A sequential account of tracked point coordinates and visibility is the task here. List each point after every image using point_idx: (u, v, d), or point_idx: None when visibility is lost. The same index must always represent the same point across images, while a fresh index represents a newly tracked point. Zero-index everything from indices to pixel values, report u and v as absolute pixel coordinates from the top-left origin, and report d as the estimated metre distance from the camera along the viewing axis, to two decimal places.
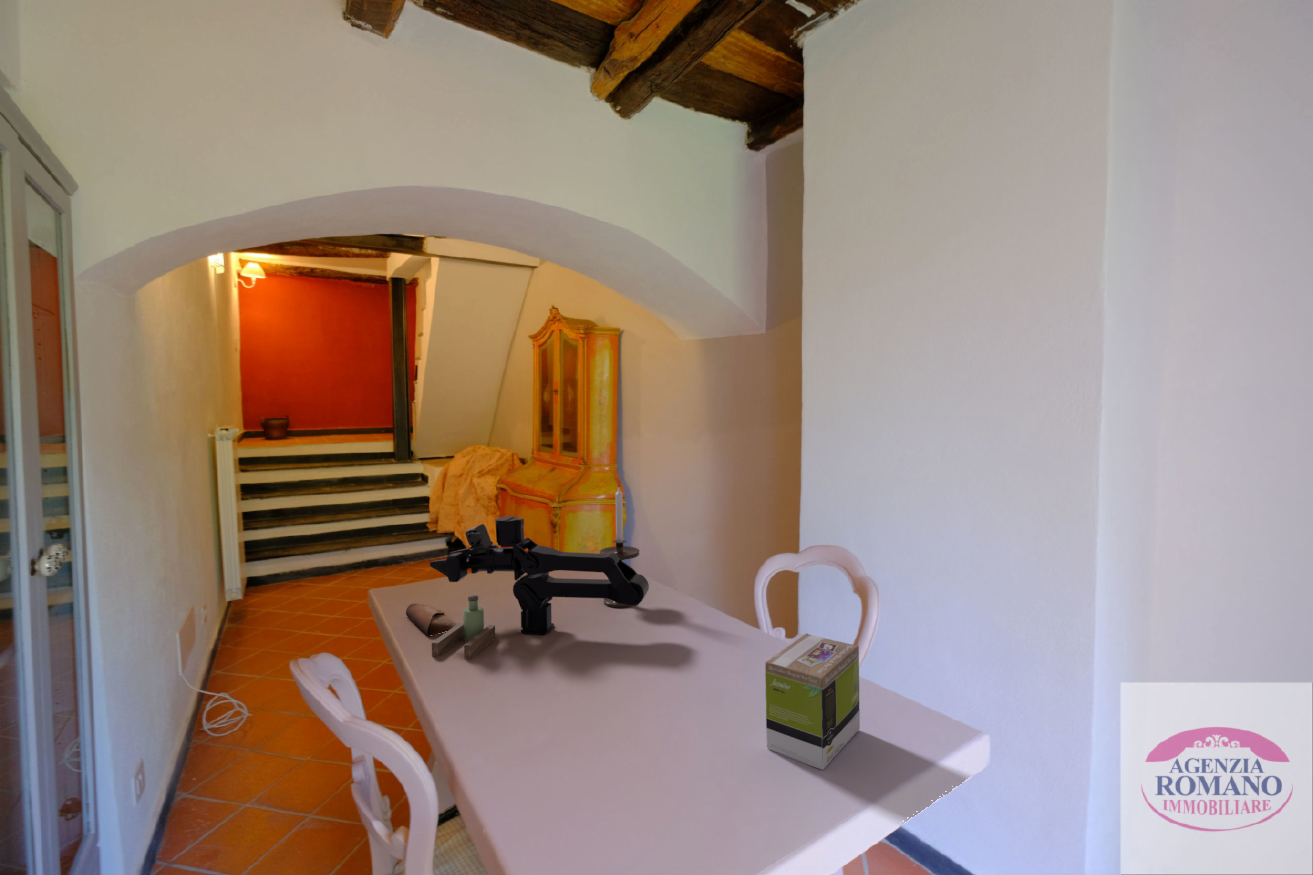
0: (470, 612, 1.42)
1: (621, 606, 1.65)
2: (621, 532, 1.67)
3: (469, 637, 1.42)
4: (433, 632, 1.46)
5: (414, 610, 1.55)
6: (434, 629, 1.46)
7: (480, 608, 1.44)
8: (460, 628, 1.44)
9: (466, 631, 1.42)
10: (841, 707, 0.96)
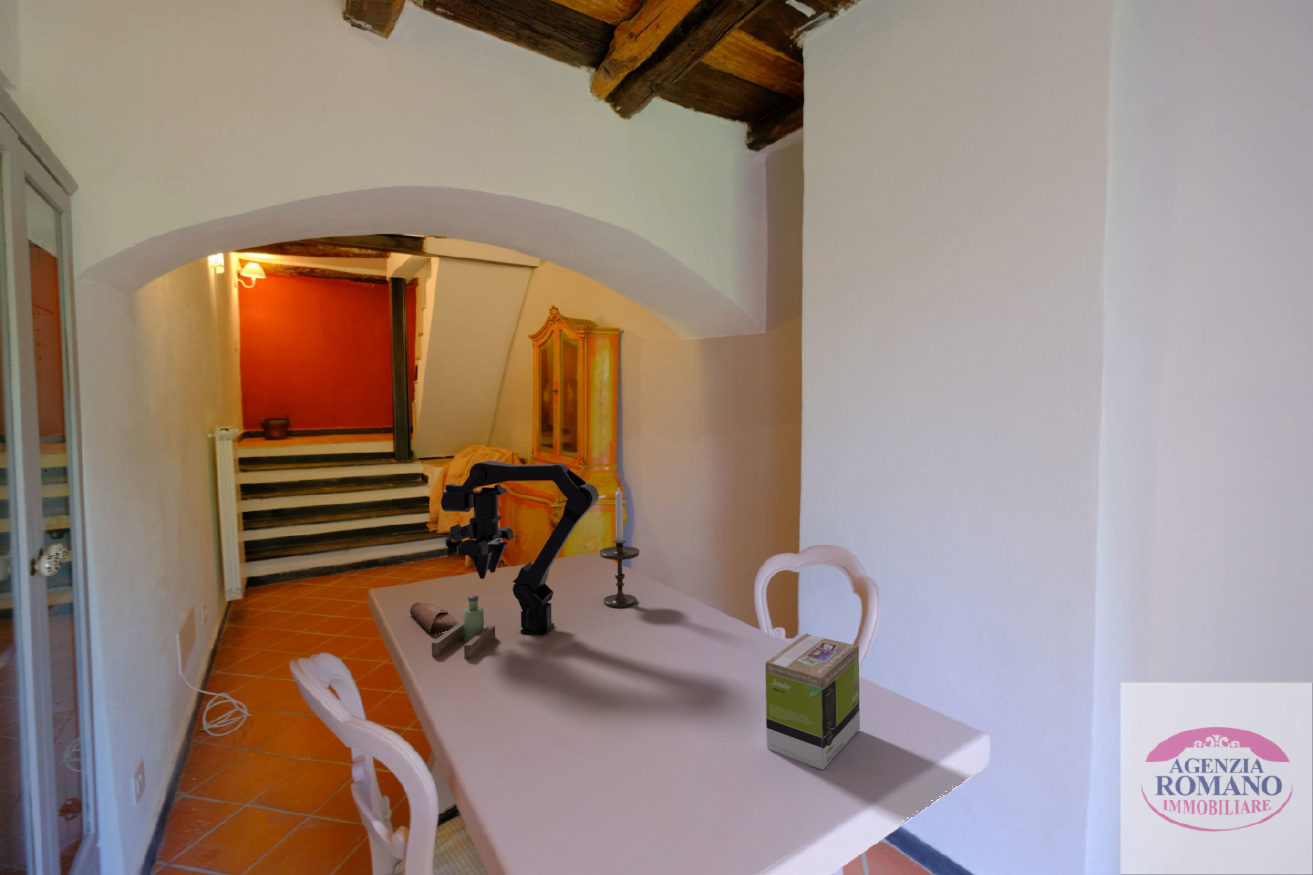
0: (470, 612, 1.42)
1: (621, 606, 1.65)
2: (621, 532, 1.67)
3: (469, 637, 1.42)
4: (436, 632, 1.47)
5: (418, 609, 1.56)
6: (437, 629, 1.47)
7: (480, 608, 1.44)
8: (460, 628, 1.44)
9: (466, 631, 1.42)
10: (841, 707, 0.96)
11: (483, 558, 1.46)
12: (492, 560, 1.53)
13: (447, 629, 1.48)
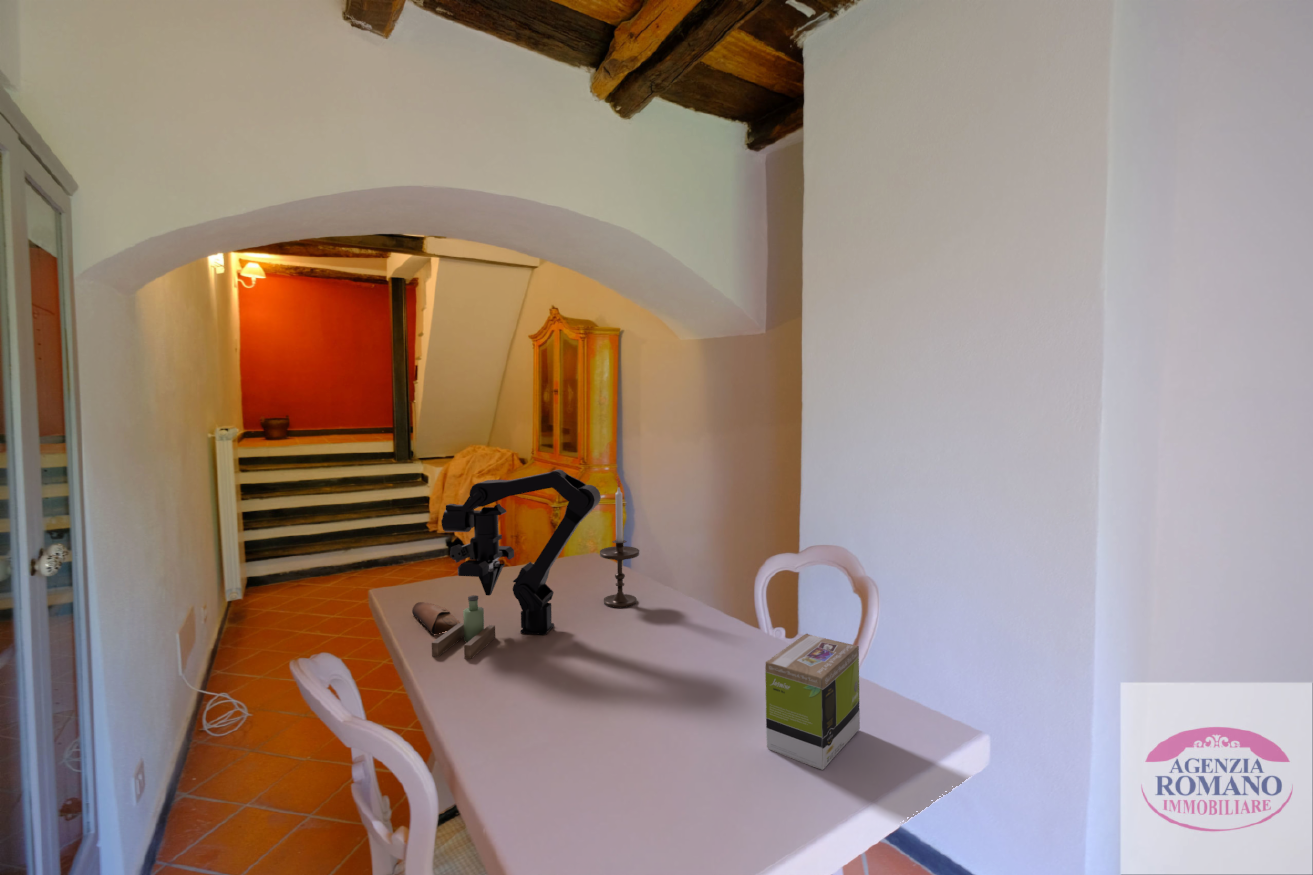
0: (470, 612, 1.42)
1: (621, 606, 1.65)
2: (621, 532, 1.67)
3: (469, 637, 1.42)
4: (438, 631, 1.47)
5: (420, 608, 1.56)
6: (438, 628, 1.47)
7: (480, 608, 1.44)
8: (460, 628, 1.44)
9: (466, 631, 1.42)
10: (841, 707, 0.96)
11: (489, 575, 1.48)
12: None
13: (448, 629, 1.49)
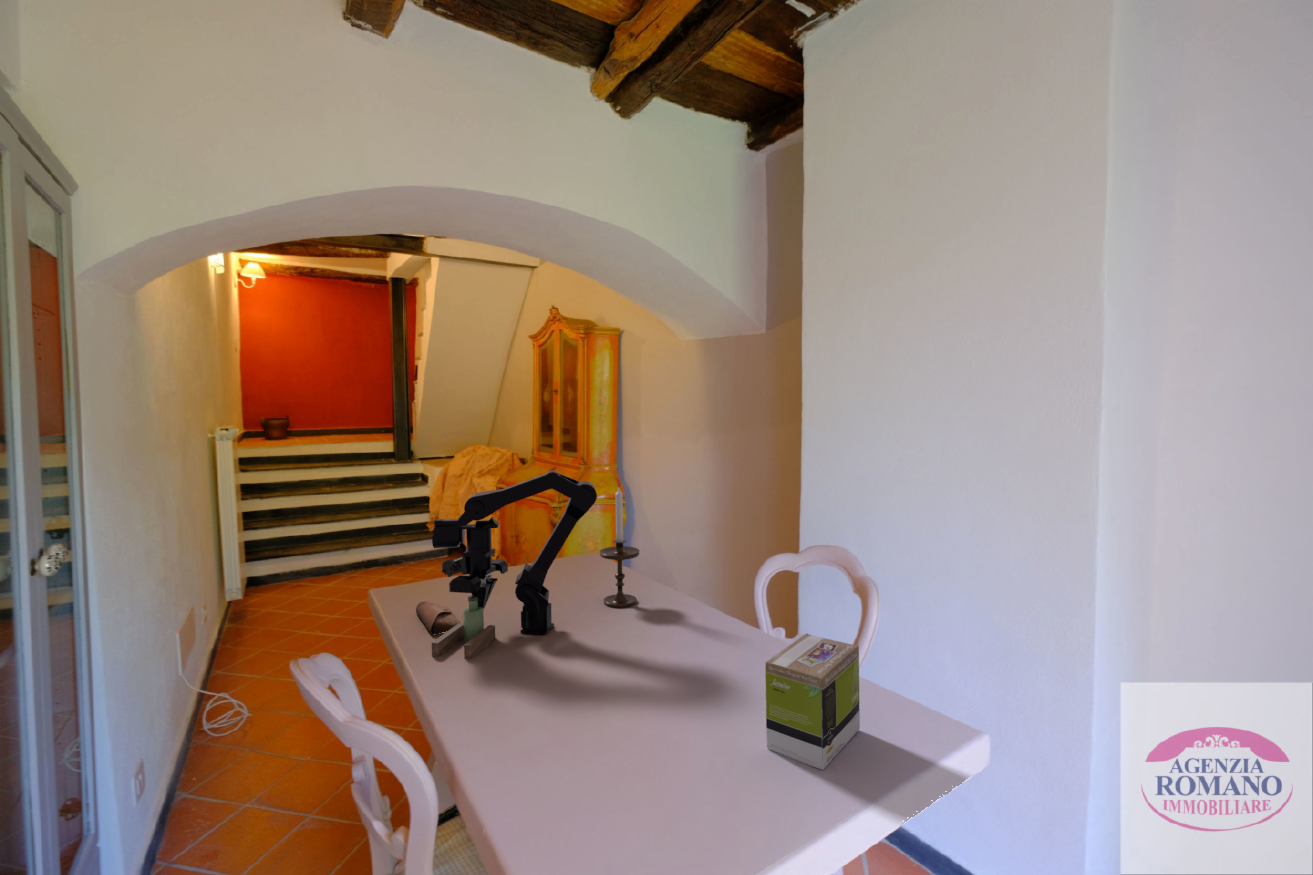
0: (470, 612, 1.42)
1: (621, 606, 1.65)
2: (621, 532, 1.67)
3: (469, 637, 1.42)
4: (437, 631, 1.47)
5: (422, 608, 1.57)
6: (438, 628, 1.47)
7: (480, 608, 1.44)
8: (460, 628, 1.44)
9: (466, 631, 1.42)
10: (841, 707, 0.96)
11: (481, 590, 1.45)
12: None
13: (448, 629, 1.48)
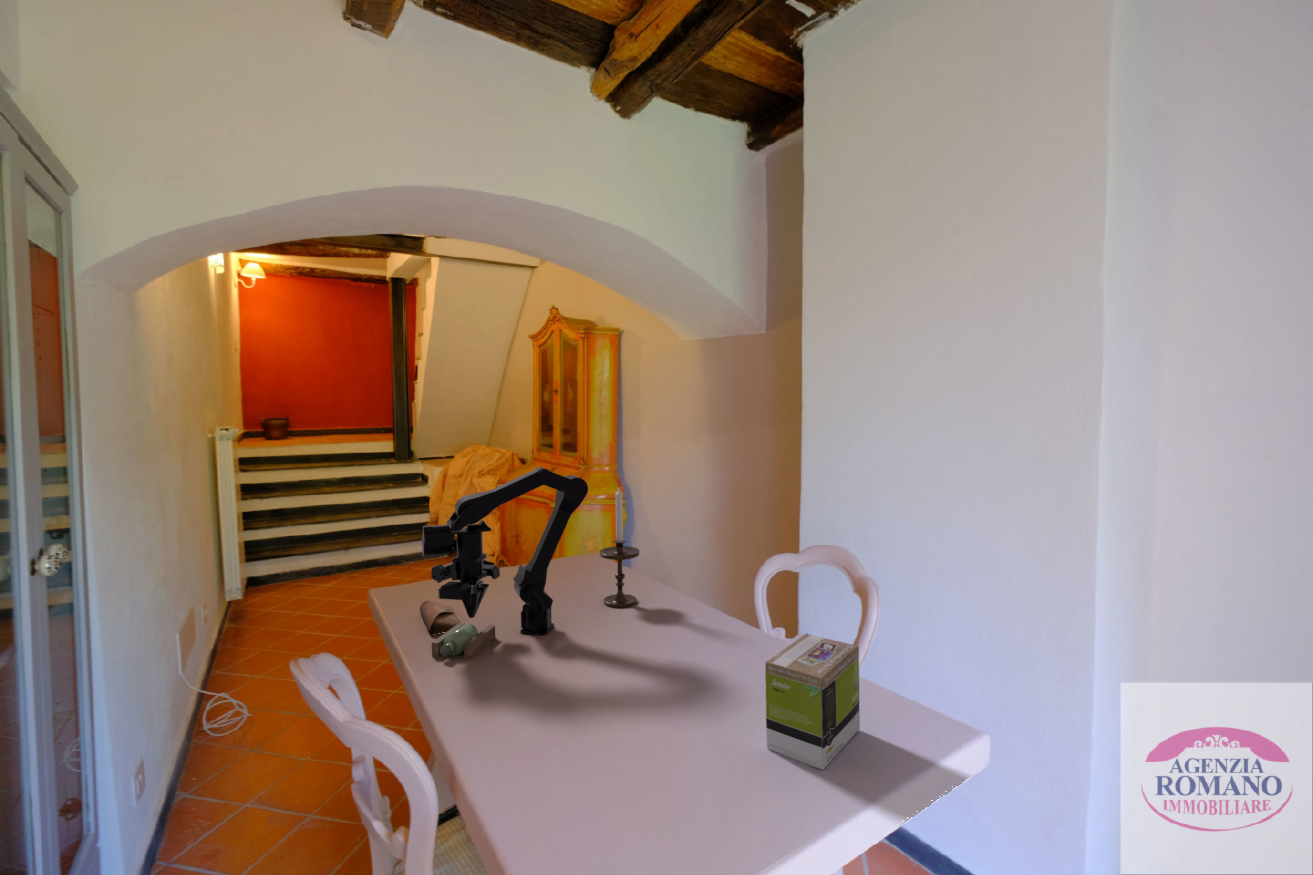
0: (453, 652, 1.35)
1: (621, 606, 1.65)
2: (621, 532, 1.67)
3: None
4: (436, 631, 1.47)
5: (425, 607, 1.57)
6: (437, 628, 1.47)
7: (457, 640, 1.34)
8: None
9: None
10: (841, 707, 0.96)
11: (472, 597, 1.40)
12: None
13: (447, 629, 1.48)
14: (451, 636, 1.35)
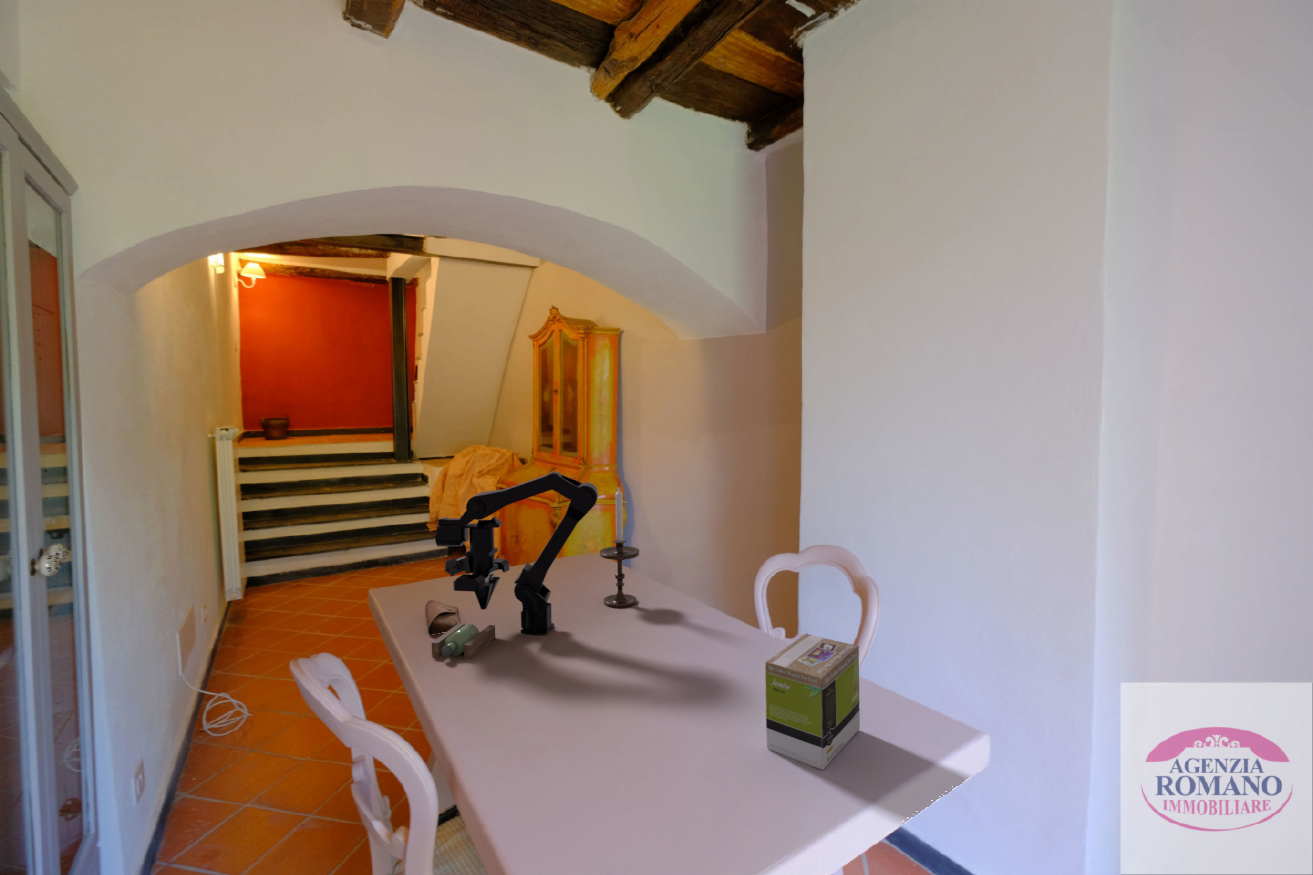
0: (453, 652, 1.35)
1: (621, 606, 1.65)
2: (621, 532, 1.67)
3: None
4: (435, 631, 1.47)
5: (429, 606, 1.58)
6: (436, 628, 1.47)
7: (459, 641, 1.34)
8: None
9: None
10: (841, 707, 0.96)
11: (484, 589, 1.46)
12: None
13: (446, 629, 1.48)
14: (454, 636, 1.34)
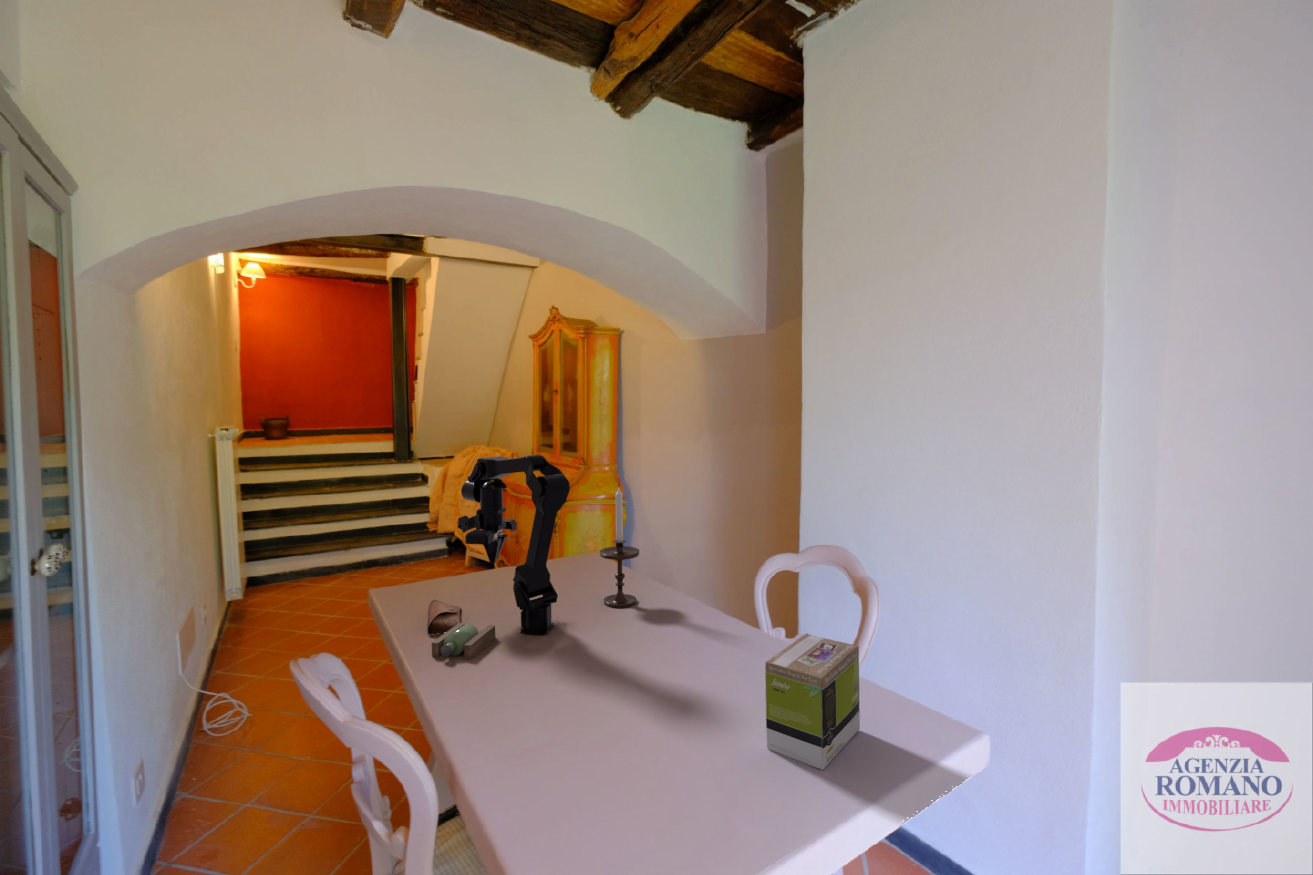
0: (453, 652, 1.35)
1: (621, 606, 1.65)
2: (621, 532, 1.67)
3: None
4: (434, 631, 1.47)
5: (431, 606, 1.58)
6: (435, 628, 1.47)
7: (457, 640, 1.34)
8: None
9: None
10: (841, 707, 0.96)
11: (493, 545, 1.59)
12: None
13: (446, 630, 1.48)
14: (452, 636, 1.35)
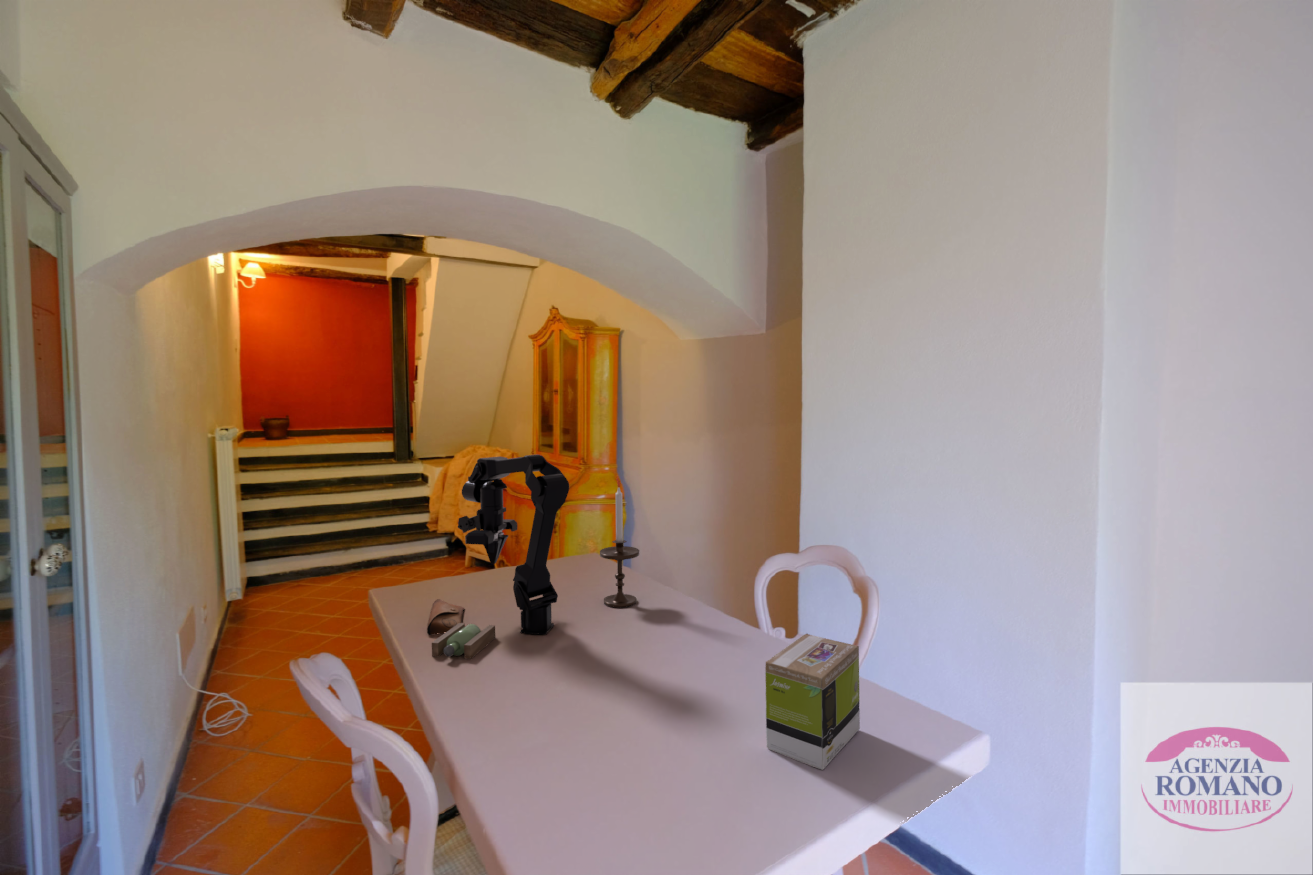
0: (454, 652, 1.35)
1: (621, 606, 1.65)
2: (621, 532, 1.67)
3: None
4: (433, 631, 1.47)
5: (434, 606, 1.58)
6: (434, 628, 1.47)
7: (462, 642, 1.34)
8: (460, 628, 1.44)
9: None
10: (841, 707, 0.96)
11: (494, 545, 1.59)
12: None
13: (445, 630, 1.48)
14: (458, 637, 1.34)
